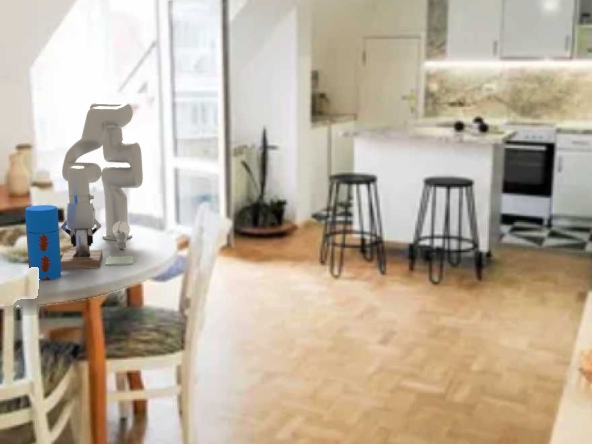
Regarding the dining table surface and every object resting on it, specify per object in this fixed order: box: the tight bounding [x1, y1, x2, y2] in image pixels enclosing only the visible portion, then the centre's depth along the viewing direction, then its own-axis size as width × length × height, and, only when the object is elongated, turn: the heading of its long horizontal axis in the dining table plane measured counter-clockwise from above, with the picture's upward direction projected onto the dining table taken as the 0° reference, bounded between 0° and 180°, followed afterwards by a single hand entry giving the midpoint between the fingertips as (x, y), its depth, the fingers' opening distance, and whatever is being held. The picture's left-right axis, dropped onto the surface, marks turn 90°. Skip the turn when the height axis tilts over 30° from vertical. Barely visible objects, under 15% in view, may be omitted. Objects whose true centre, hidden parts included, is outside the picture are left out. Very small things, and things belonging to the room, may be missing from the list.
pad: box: [105, 255, 134, 266], centre depth 282 cm, size 10×10×1 cm
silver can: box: [74, 228, 91, 257], centre depth 278 cm, size 5×5×11 cm
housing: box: [61, 249, 104, 270], centre depth 279 cm, size 16×14×3 cm
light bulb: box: [113, 221, 131, 251], centre depth 299 cm, size 7×7×12 cm
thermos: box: [24, 204, 62, 282], centre depth 258 cm, size 11×11×25 cm
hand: (82, 245), depth 278 cm, fingers closed on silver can, 5 cm apart
